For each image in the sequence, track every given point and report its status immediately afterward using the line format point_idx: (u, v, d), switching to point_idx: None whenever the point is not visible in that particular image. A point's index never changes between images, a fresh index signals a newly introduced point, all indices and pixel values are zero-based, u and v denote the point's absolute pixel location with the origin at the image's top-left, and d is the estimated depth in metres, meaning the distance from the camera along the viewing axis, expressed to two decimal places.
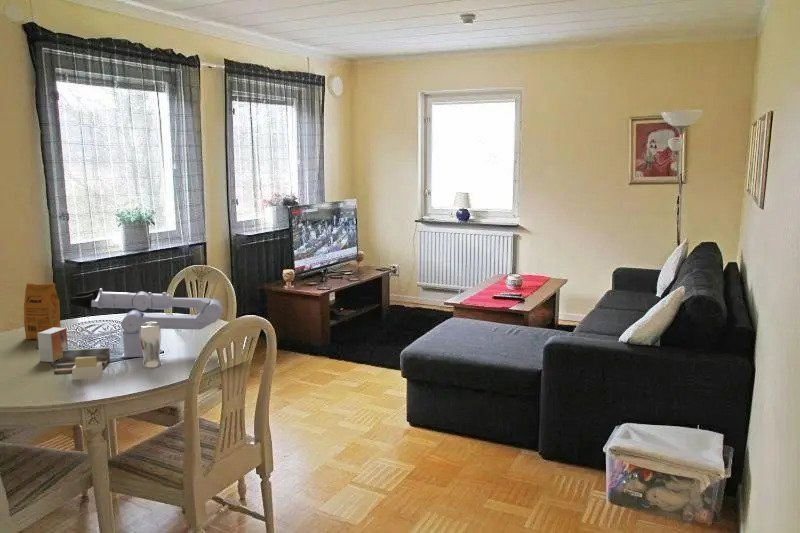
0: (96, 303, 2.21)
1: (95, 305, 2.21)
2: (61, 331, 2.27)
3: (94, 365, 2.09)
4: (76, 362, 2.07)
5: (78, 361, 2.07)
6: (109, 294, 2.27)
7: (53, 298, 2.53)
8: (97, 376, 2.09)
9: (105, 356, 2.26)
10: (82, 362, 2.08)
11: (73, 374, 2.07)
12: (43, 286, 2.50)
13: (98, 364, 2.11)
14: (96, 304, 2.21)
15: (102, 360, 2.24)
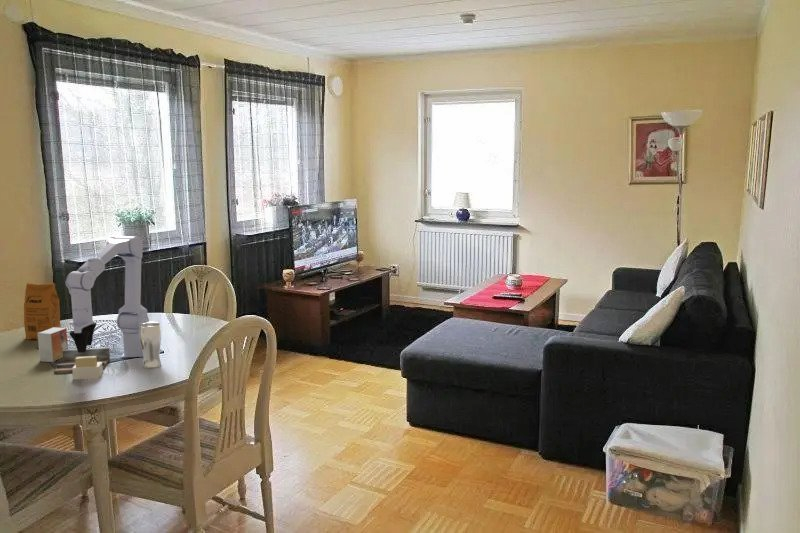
0: (76, 328, 1.99)
1: (79, 329, 2.00)
2: (61, 331, 2.27)
3: (94, 365, 2.09)
4: (76, 362, 2.07)
5: (78, 361, 2.08)
6: (73, 314, 2.04)
7: (53, 298, 2.53)
8: (97, 376, 2.09)
9: (105, 356, 2.26)
10: (82, 362, 2.08)
11: (73, 374, 2.07)
12: (43, 286, 2.50)
13: (98, 364, 2.11)
14: (77, 328, 2.00)
15: (102, 360, 2.24)
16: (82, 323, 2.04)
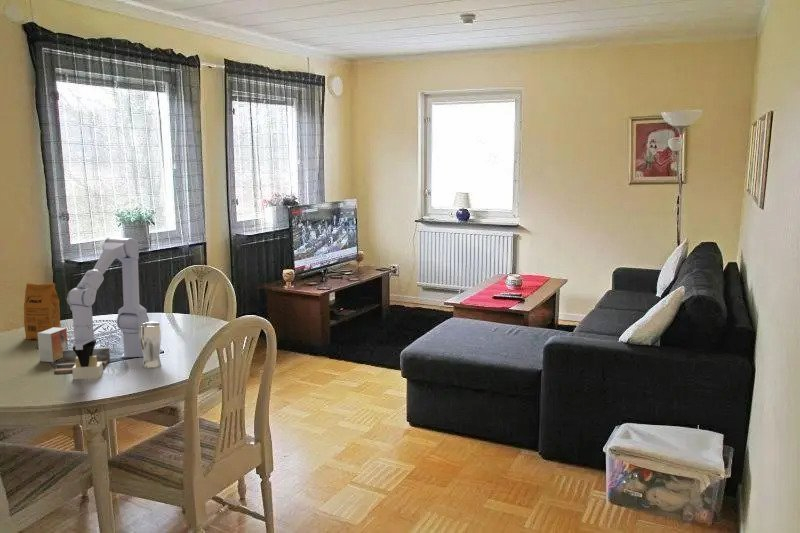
0: (77, 345, 2.00)
1: (80, 345, 2.01)
2: (61, 331, 2.27)
3: (94, 364, 2.09)
4: (76, 361, 2.08)
5: (78, 360, 2.08)
6: (74, 331, 2.05)
7: (53, 298, 2.53)
8: (97, 375, 2.09)
9: (105, 356, 2.26)
10: None
11: (73, 373, 2.08)
12: (43, 286, 2.50)
13: (98, 363, 2.11)
14: (79, 344, 2.00)
15: (102, 360, 2.24)
16: (83, 340, 2.05)
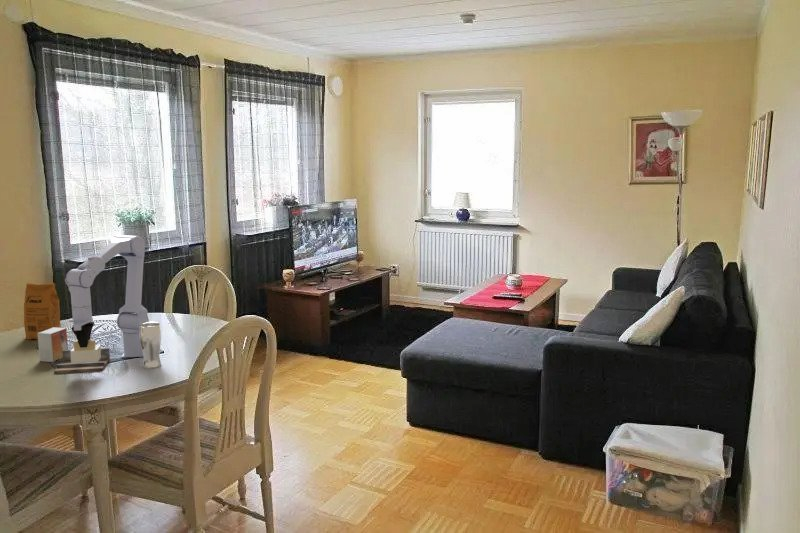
0: (76, 325, 2.01)
1: (78, 326, 2.01)
2: (61, 331, 2.27)
3: (92, 348, 2.09)
4: (75, 345, 2.08)
5: (77, 344, 2.08)
6: (72, 312, 2.05)
7: (53, 298, 2.53)
8: (95, 359, 2.09)
9: (105, 356, 2.26)
10: None
11: (71, 357, 2.08)
12: (43, 286, 2.50)
13: (96, 347, 2.12)
14: (77, 325, 2.01)
15: (102, 360, 2.24)
16: (82, 320, 2.05)
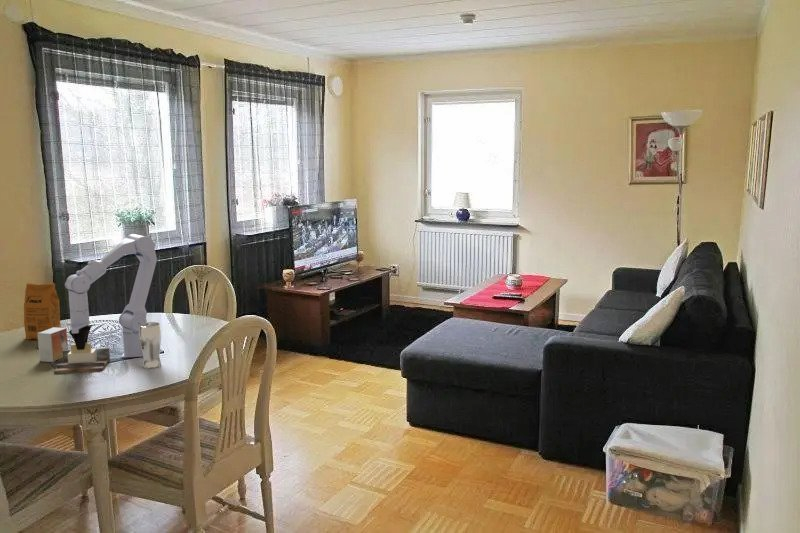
0: (74, 328, 2.11)
1: (76, 329, 2.11)
2: (61, 331, 2.27)
3: (89, 351, 2.19)
4: (71, 348, 2.18)
5: (73, 347, 2.18)
6: (70, 316, 2.15)
7: (53, 298, 2.53)
8: (91, 361, 2.19)
9: (105, 356, 2.26)
10: None
11: (69, 359, 2.18)
12: (43, 286, 2.50)
13: (93, 350, 2.21)
14: (75, 328, 2.11)
15: (102, 360, 2.24)
16: (79, 324, 2.15)
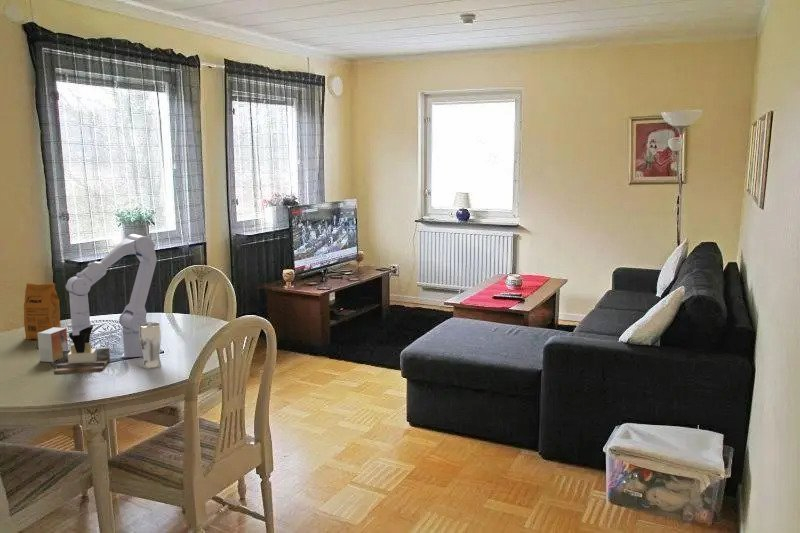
0: (74, 330, 2.12)
1: (77, 331, 2.12)
2: (61, 331, 2.27)
3: (89, 351, 2.19)
4: (72, 348, 2.18)
5: (73, 347, 2.18)
6: (71, 318, 2.16)
7: (53, 298, 2.53)
8: None
9: (105, 356, 2.26)
10: None
11: (69, 360, 2.18)
12: (43, 286, 2.50)
13: (93, 350, 2.22)
14: (75, 330, 2.12)
15: (102, 360, 2.24)
16: (80, 326, 2.16)
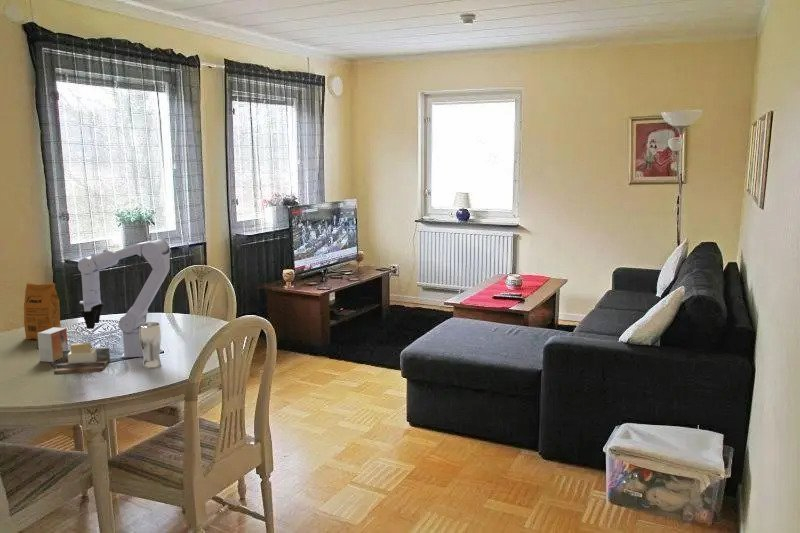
0: (86, 306, 2.25)
1: (88, 307, 2.25)
2: (61, 331, 2.27)
3: (89, 351, 2.19)
4: (72, 348, 2.18)
5: (73, 347, 2.18)
6: (83, 295, 2.29)
7: (53, 298, 2.53)
8: None
9: (105, 356, 2.26)
10: (77, 348, 2.18)
11: (69, 360, 2.18)
12: (43, 286, 2.50)
13: (93, 350, 2.22)
14: (87, 306, 2.25)
15: (102, 360, 2.24)
16: (91, 303, 2.29)
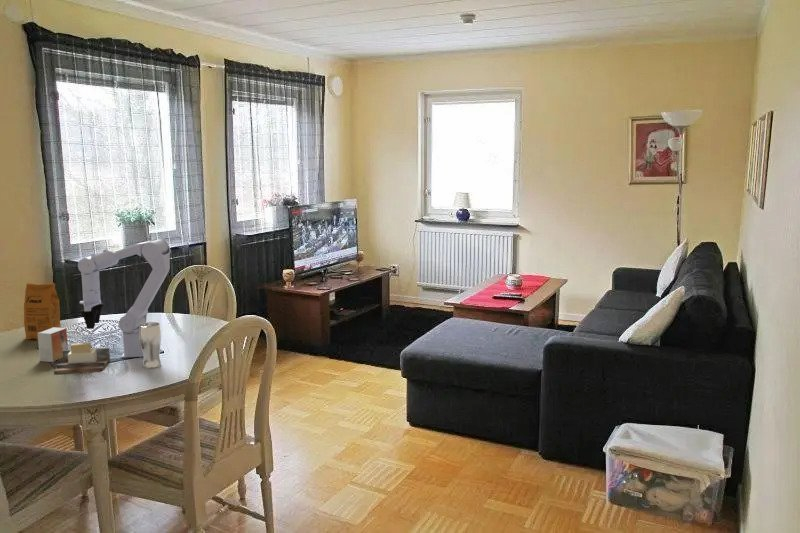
0: (86, 306, 2.25)
1: (88, 307, 2.25)
2: (61, 331, 2.27)
3: (89, 351, 2.19)
4: (72, 348, 2.18)
5: (73, 347, 2.18)
6: (83, 295, 2.29)
7: (53, 298, 2.53)
8: None
9: (105, 356, 2.26)
10: (77, 348, 2.18)
11: (69, 360, 2.18)
12: (43, 286, 2.50)
13: (93, 350, 2.22)
14: (87, 306, 2.25)
15: (102, 360, 2.24)
16: (91, 303, 2.29)
